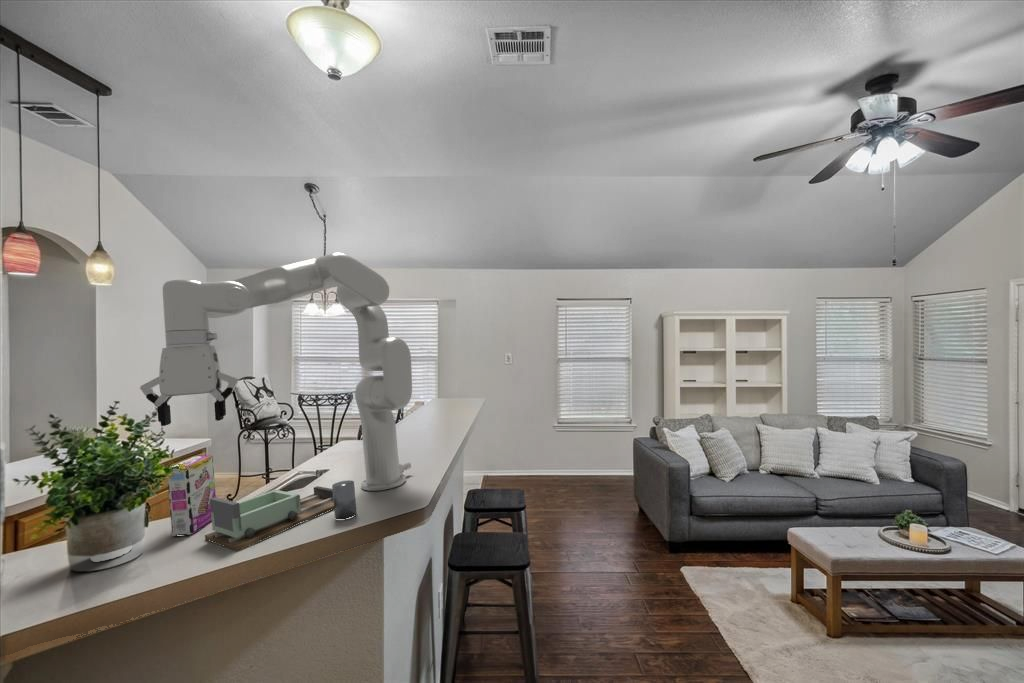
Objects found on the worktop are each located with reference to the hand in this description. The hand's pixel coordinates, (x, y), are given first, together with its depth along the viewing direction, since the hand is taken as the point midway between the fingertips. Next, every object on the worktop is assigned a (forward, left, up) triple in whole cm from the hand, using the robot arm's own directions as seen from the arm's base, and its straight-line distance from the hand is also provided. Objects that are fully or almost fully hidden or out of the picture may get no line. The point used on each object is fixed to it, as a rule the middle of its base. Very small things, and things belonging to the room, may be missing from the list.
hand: (193, 422), depth 97 cm
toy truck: (-12, -2, -27) cm, 30 cm away
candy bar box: (-7, -20, -28) cm, 36 cm away
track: (-18, -2, -28) cm, 33 cm away
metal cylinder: (-26, +12, -28) cm, 40 cm away
